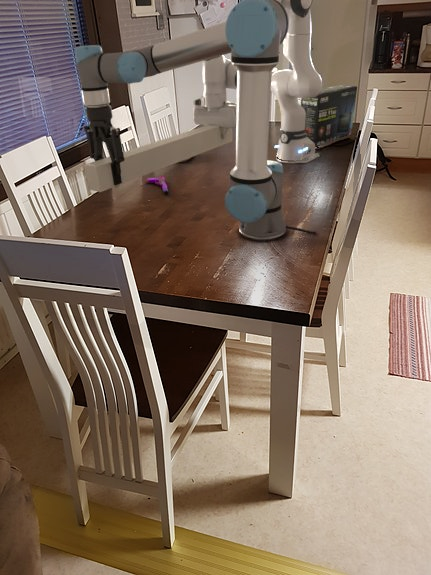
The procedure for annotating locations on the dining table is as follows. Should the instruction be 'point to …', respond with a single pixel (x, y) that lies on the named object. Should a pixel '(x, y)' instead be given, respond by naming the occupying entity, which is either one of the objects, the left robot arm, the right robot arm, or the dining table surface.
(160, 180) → the handgun
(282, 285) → the dining table surface
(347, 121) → the router box
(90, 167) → the beam
